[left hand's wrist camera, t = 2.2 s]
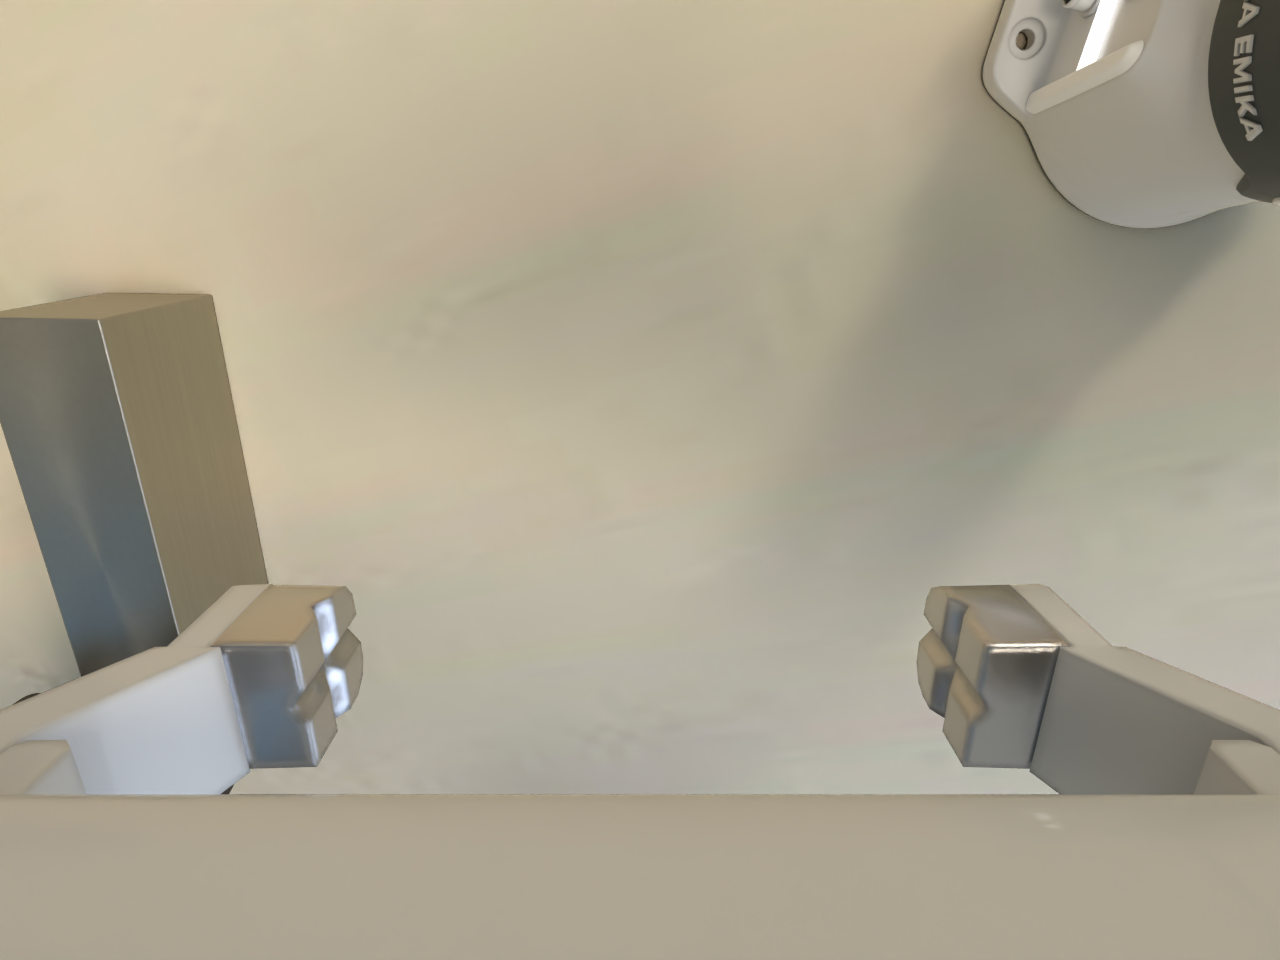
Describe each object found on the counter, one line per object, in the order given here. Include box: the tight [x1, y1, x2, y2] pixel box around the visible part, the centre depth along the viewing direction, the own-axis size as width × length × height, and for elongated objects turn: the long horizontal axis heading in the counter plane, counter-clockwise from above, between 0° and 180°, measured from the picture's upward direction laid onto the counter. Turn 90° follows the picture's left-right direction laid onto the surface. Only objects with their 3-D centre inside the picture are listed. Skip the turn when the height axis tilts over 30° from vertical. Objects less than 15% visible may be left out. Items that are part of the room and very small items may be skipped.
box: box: [0, 293, 268, 677], centre depth 40 cm, size 25×6×9 cm, turn 179°
